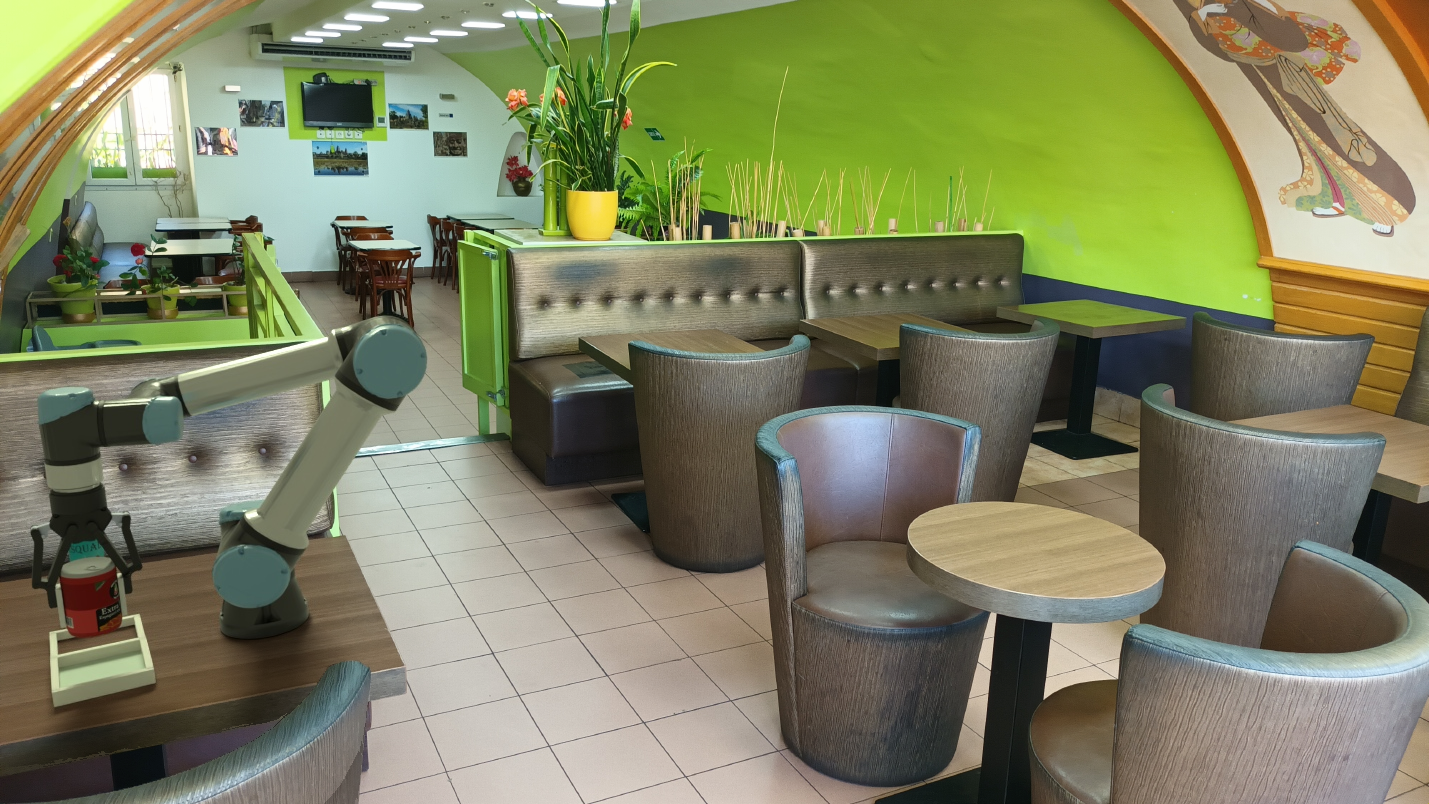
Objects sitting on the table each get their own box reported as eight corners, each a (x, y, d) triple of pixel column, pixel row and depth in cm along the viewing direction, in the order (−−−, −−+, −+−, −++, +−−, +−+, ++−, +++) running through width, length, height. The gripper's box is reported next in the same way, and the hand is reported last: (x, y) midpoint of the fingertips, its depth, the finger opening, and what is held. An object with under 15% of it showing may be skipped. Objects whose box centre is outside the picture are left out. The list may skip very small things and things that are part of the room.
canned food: (108, 638, 159) (100, 574, 157) (56, 639, 159) (47, 574, 156) (132, 617, 167) (124, 555, 164) (82, 618, 166) (74, 556, 164)
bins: (155, 682, 163) (154, 668, 162) (54, 707, 155) (51, 692, 155) (140, 621, 185) (138, 608, 184) (50, 639, 177) (48, 627, 176)
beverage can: (94, 609, 189) (84, 535, 186) (69, 606, 190) (58, 533, 187) (118, 597, 195) (108, 525, 191) (93, 594, 196) (83, 522, 192)
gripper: (148, 469, 166) (163, 596, 171) (-3, 489, 154) (17, 624, 160) (153, 481, 160) (168, 612, 165) (-5, 502, 148) (17, 642, 154)
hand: (94, 618), depth 162 cm, fingers closed on canned food, 8 cm apart
